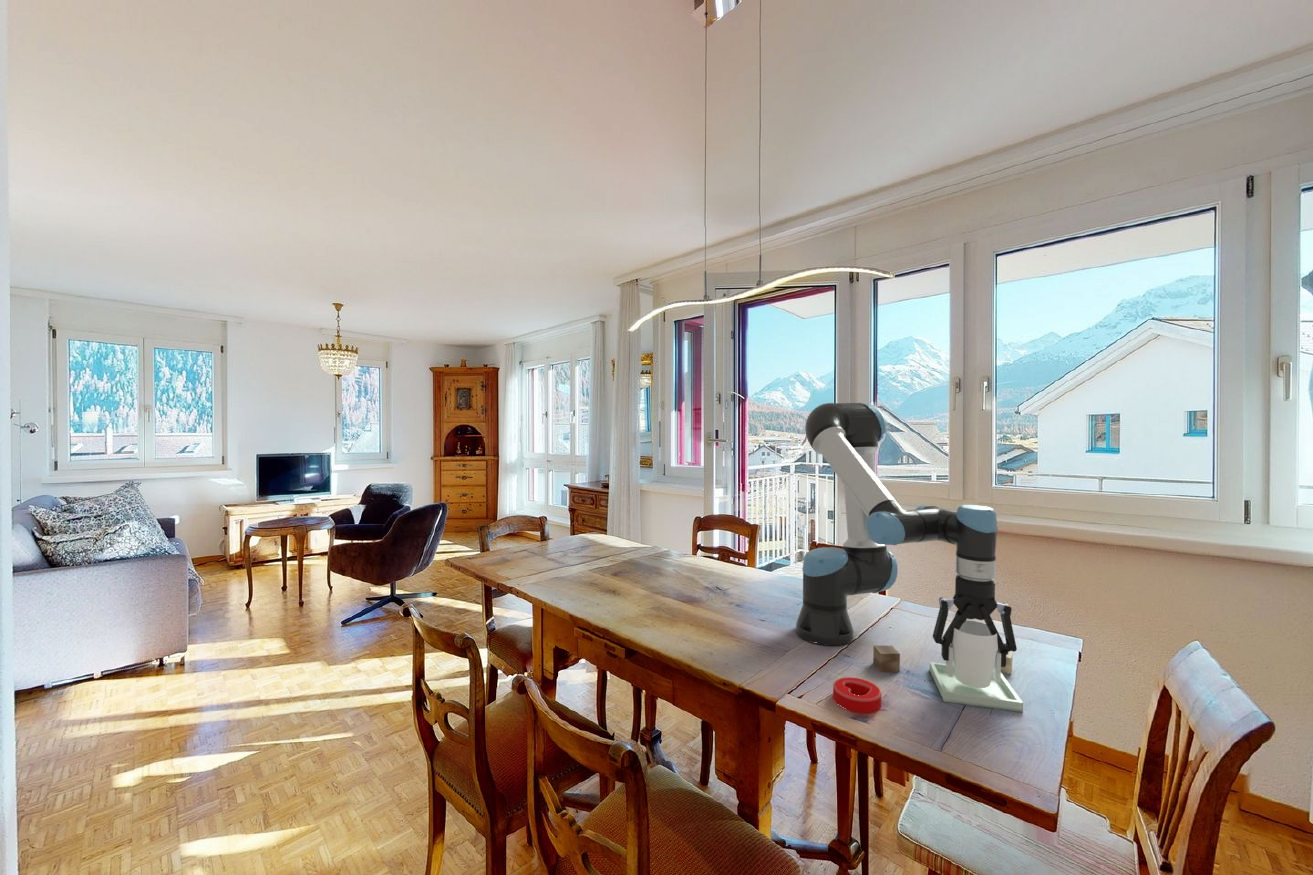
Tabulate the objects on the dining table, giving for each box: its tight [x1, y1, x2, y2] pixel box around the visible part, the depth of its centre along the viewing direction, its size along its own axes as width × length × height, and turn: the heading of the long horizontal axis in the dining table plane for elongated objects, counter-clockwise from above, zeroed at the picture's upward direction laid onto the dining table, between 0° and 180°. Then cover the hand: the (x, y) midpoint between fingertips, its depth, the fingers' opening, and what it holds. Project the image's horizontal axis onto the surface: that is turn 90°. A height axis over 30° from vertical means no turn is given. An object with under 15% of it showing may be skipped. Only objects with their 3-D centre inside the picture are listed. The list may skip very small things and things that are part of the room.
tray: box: [928, 661, 1024, 713], centre depth 118 cm, size 15×15×2 cm
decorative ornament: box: [832, 676, 882, 715], centre depth 114 cm, size 10×10×3 cm
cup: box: [951, 619, 998, 688], centre depth 118 cm, size 9×9×12 cm
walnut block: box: [872, 644, 901, 673], centre depth 129 cm, size 4×4×4 cm
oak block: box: [1001, 651, 1014, 675], centre depth 128 cm, size 5×4×4 cm
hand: (972, 676), depth 118 cm, fingers closed on cup, 9 cm apart
